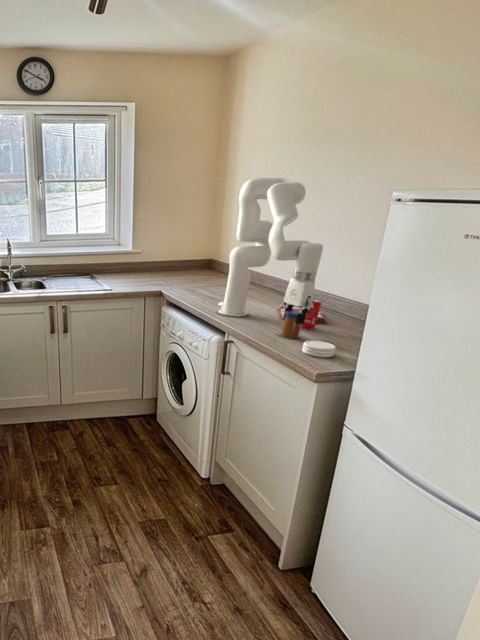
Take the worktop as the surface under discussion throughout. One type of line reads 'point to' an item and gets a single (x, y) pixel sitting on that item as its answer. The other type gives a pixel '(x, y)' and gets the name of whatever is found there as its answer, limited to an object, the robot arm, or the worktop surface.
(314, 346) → the coaster
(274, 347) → the worktop surface
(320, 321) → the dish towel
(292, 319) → the jam jar
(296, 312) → the jam lid
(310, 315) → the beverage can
